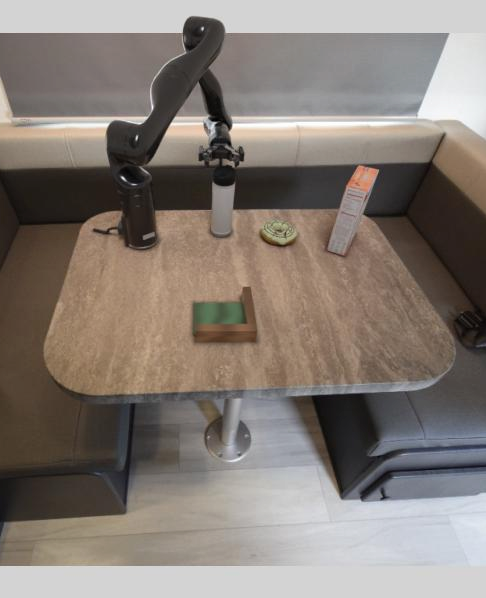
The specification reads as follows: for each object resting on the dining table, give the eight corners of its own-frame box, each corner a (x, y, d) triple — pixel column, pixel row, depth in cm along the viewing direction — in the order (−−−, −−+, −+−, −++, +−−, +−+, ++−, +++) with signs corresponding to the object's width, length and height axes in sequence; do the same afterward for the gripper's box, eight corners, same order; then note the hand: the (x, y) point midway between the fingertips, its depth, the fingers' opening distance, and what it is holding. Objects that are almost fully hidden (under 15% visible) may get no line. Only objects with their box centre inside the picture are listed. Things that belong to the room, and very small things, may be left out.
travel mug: (234, 228, 110) (240, 167, 96) (226, 239, 106) (231, 177, 92) (216, 223, 112) (219, 162, 98) (207, 234, 108) (209, 171, 93)
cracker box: (337, 227, 112) (358, 163, 97) (356, 233, 110) (381, 169, 95) (324, 250, 103) (345, 184, 88) (344, 257, 101) (370, 190, 86)
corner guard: (193, 342, 79) (193, 330, 76) (193, 297, 88) (193, 286, 86) (255, 342, 79) (257, 330, 76) (249, 297, 89) (250, 286, 86)
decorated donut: (285, 252, 102) (288, 242, 100) (253, 239, 106) (255, 229, 104) (300, 235, 108) (303, 225, 106) (270, 223, 112) (271, 213, 110)
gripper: (198, 130, 113) (198, 151, 102) (242, 130, 114) (247, 152, 103) (198, 153, 119) (198, 176, 108) (240, 153, 119) (244, 176, 108)
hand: (222, 164), depth 105 cm, fingers open, 8 cm apart
